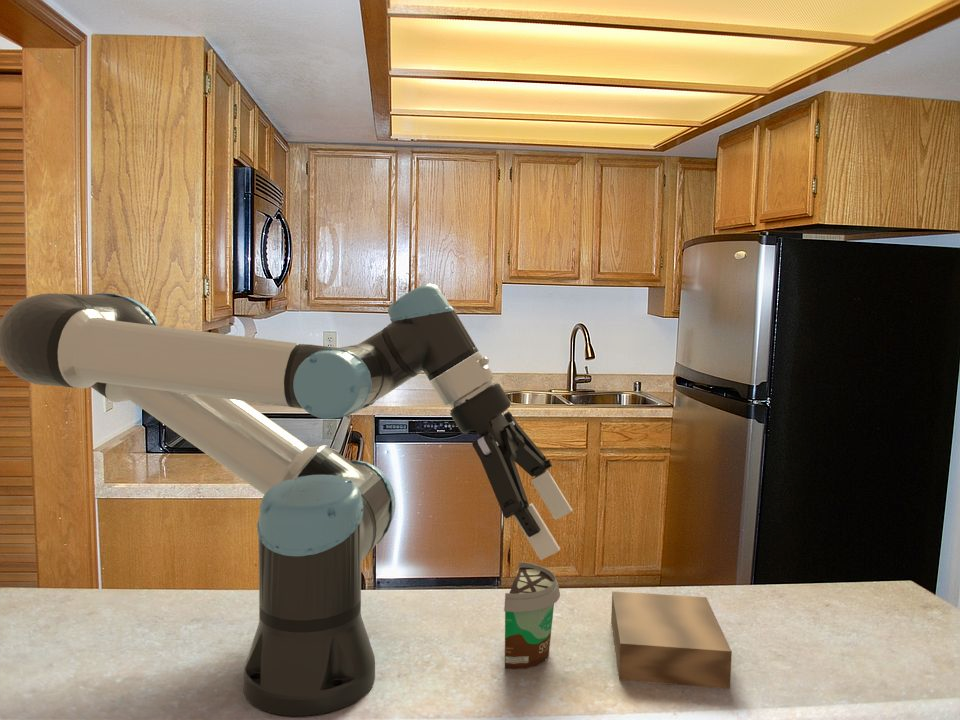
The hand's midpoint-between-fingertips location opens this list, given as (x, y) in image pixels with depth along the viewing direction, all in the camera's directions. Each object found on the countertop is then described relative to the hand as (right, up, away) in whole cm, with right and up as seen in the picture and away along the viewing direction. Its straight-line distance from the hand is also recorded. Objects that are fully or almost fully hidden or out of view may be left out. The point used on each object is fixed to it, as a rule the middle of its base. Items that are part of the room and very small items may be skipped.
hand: (557, 533), depth 95 cm
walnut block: (+14, -16, 0) cm, 21 cm away
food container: (-3, -16, -1) cm, 16 cm away
